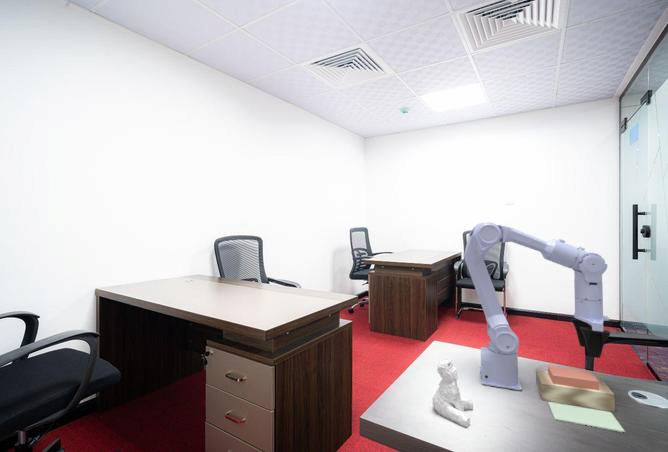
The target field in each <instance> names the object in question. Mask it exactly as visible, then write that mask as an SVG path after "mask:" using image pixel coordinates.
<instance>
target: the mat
mask: <svg viewBox="0 0 668 452" xmlns="http://www.w3.org/2000/svg"><path fill="white" fill-rule="evenodd" d="M547 404H548V406H549V409H550V411H551V413H552V416H553V419H554V420H555V421H559V422H562V423H563V422H565V423H568V424H575V425H581V426H585V425H587V427H591V426H592V428H596V427H597V429H601V430H602V429H603V430H608V431H614V432H619V433H623V432H624V434H625V433H626V431H625V429H624V428H623V426H622V425H621V424H620V422H619V421H618V420H617V419H616V417H615V416H614V414H613V412H611V411H605V410H599V409H593V408H587V407H581V406H575V405H568V404H562V403H556V402H550V401H547Z"/></svg>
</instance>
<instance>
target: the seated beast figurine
mask: <svg viewBox="0 0 668 452" xmlns="http://www.w3.org/2000/svg"><path fill="white" fill-rule="evenodd" d="M437 371H438V372H437V373H438V374H439V376H440V377H441V380H440V382H439V383H438V386H439V387H438V388H437V390H436V391H435V393H434V394H433V397H432V398H431V399H432V406H433V407H434V410H436V412H438V414H439V415H441V416H442V417H445V418H447V419H448V420H450V421H452V422H454V423H456V424H458V425H460V426H462V427H464V428H465V427H466V428H468V427H469V426H470V424H471V418H470V416H469V415H468V414H467V413H466V412H465V410H466V411H467V410H471V411H472V410H473V409H474V402H473V401H472V399H469V398H467V397H466V396H461V393H460V389H459V386H458V379H459V376H458V371H457V368H456V367H455V366H454V365H453V363H452V360H451V359H445V360H441V361H440V362H439V363H438V365H437Z"/></svg>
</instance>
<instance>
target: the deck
mask: <svg viewBox="0 0 668 452" xmlns="http://www.w3.org/2000/svg"><path fill="white" fill-rule="evenodd" d="M595 378H596V379H597V380H598V381H599V390H593V389H586V388H579V387H572V386H565V385H558V384H553V382H552V380H551V378H550V376H549V374H548V370H545V369H538V368H536V369H535V385H536V388H537V390H538V392H539V396H540V398H541V400H542V401H545V402H552V403H558V404H564V405H570V406H577V407H583V408H589V409H595V410H601V411H607V412H611V413H615V412H616V408H615V407H616V405H615V393H614V392H613V391H612V390H611V389H610V387H609V386H608V385H607V384H606V383H605V382H604V380H603V379H602V378H601V377H599V376H598V377H597V376H595Z"/></svg>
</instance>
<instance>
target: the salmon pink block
mask: <svg viewBox="0 0 668 452" xmlns="http://www.w3.org/2000/svg"><path fill="white" fill-rule="evenodd" d="M547 371H548V374H549V376H550V378H551V380H552V382H553V384H558V385H565V386H572V387H579V388H586V389H593V390H599V381H598V380H597V379H596V378H595V377H596V376H595V375H594V374H593V372H591V371H590V370H583V369H576V368H575V369H574V368H567V367H559V366H551V365H547Z"/></svg>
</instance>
